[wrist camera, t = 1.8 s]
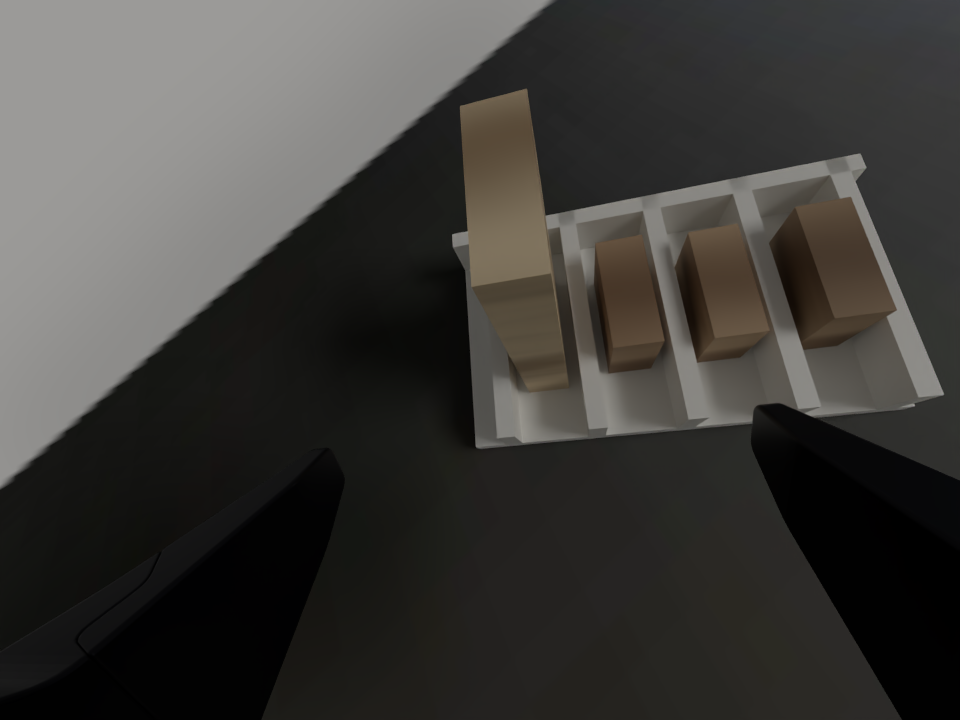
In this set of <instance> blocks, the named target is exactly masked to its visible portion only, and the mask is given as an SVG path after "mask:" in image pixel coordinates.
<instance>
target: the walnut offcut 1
mask: <svg viewBox="0 0 960 720" xmlns="http://www.w3.org/2000/svg"><path fill="white" fill-rule="evenodd" d="M594 288H595V294H596V300H597V306H598V312H599V318H600V324H601V330H602V336H603V342H604V349H605V355H606V361H607V367H608V373H617V372H626V371H634V370H642V369H650V368H651V367H652V365H653V363H654V361H655V359H656V357H657V355H658V353H659V351H660V349H661V348H662V346H663V344H664V342H665V340H664V335H663V330H662V326H661V321H660V316H659V312H658V307H657V302H656V297H655V293H654V288H653V283H652V279H651V274H650V269H649V265H648V260H647V255H646V251H645V246H644V241H643V237H642V235H637V236H631V237H626V238H620V239H615V240H609V241H604V242H598V243H595V265H594Z"/></svg>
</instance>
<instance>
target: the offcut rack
mask: <svg viewBox="0 0 960 720" xmlns="http://www.w3.org/2000/svg"><path fill="white" fill-rule="evenodd" d="M865 169H866V166H865V163H864V161H863V159H862V156H861V154H855V155H850V156H845V157H840V158H835V159H830V160H825V161H820V162H815V163H810V164H805V165H800V166H795V167H790V168H785V169H780V170H775V171H770V172H765V173H760V174H755V175H749V176H744V177H739V178H734V179H729V180H724V181H719V182H714V183H709V184H704V185H699V186H694V187H689V188H684V189H679V190H674V191H669V192H664V193H659V194H654V195H649V196H644V197H639V198H634V199H628V200H623V201H618V202H613V203H608V204H603V205H598V206H593V207H588V208H583V209H578V210H573V211H568V212H563V213H558V214H553V215H548V216H546V223H547V230H548V237H549V244H550V250H551V257H552V264H553V271H554V278H555V285H556V292H557V300H558V307H559V315H560V322H561V330H562V337H563V345H564V352H565V360H566V367H567V375H568V382H569V388H566V389H557V390H549V391H540V392H531V393H530V392H529V390H528V389H527V387H526V385H525V383H524V381H523V380H522V378H521V376H520V374H519V372H518V370H517V369H516V367H515V365H514V363H513V361H512V360H511V358H510V356H509V354H508V352H507V350H506V349H505V347H504V345H503V343H502V341H501V340H500V338H499V336H498V334H497V332H496V331H495V329H494V327H493V325H492V323H491V321H490V320H489V318H488V316H487V314H486V312H485V311H484V309H483V307H482V305H481V303H480V301H479V300H478V298H477V296H476V294H475V292H474V291H473V289H472V287H471V272H470V256H469V241H468V231H467V232H462V233H457V234H452V239H453V248H454V250H455V252H456V254H457V256H458V258H459V260H460V261H461V263H462V265H463V267H464V269H465V273H466V290H467V307H468V323H469V340H470V357H471V373H472V390H473V407H474V424H475V440H476V448H479V449H484V448H495V447H506V446H516V445H527V444H538V443H549V442H560V441H570V440H581V439H592V438H603V437H613V436H624V435H635V434H646V433H656V432H667V431H678V430H689V429H700V428H710V427H721V426H732V425H743V424H752V419H753V411H754V408H755V407H756V406H757V405H761V404H770V403H781V404H784V405H786V406H789V407H791V408H793V409H796V410H798V411H800V412H802V413H805V414H807V415H809V416H812V417H814V418H818V417H829V416H840V415H850V414H861V413H872V412H883V411H893V410H903V409H906V408H910V407H914V406H915V405H914V403H917V402H920V401H924V400H928V399H931V398H935V397H938V396H942V395H944V393H943V391H942V388H941V386H940V384H939V381H938V379H937V376H936V374H935V372H934V369H933V367H932V364H931V362H930V360H929V357H928V355H927V352H926V350H925V348H924V345H923V343H922V340H921V338H920V336H919V333H918V331H917V328H916V326H915V324H914V321H913V319H912V316H911V314H910V312H909V309H908V307H907V304H906V302H905V300H904V297H903V295H902V292H901V290H900V288H899V285H898V283H897V280H896V278H895V276H894V273H893V271H892V268H891V266H890V264H889V261H888V259H887V256H886V254H885V252H884V249H883V247H882V244H881V242H880V240H879V237H878V235H877V232H876V230H875V228H874V225H873V223H872V220H871V218H870V216H869V213H868V211H867V208H866V206H865V204H864V201H863V199H862V196H861V194H860V192H859V189H858V187H857V184H856V182H855V181H856V180H857V178H858V177H859V176H860V175H861V174H862V173H863V171H864V170H865ZM846 197H851V198H852V201H853V203H854V205H855V208H856V210H857V213H858V215H859V218H860V220H861V223H862V225H863V228H864V230H865V233H866V235H867V237H868V240H869V242H870V245H871V247H872V250H873V252H874V255H875V257H876V260H877V262H878V264H879V267H880V269H881V272H882V274H883V277H884V279H885V282H886V284H887V287H888V289H889V291H890V294H891V296H892V299H893V301H894V304H895V306H896V309H897V311H895V312H893V313H892V314H890V315H888V316H887V317H885V318H883V319H881V320H880V321H878V322H876V323H875V324H873V325H871V326H870V327H868V328H866V329H865V330H863V331H861V332H860V333H858V334H856V335H855V336H853V337H851V338H850V339H848V340H846V341H845V342H843V343H841V344H840V345H838V346H831V347H823V348H815V349H807V350H803V348H802V345H801V342H800V339H799V335H798V332H797V329H796V326H795V323H794V320H793V317H792V314H791V311H790V307H789V304H788V301H787V298H786V295H785V292H784V289H783V286H782V282H781V279H780V276H779V273H778V270H777V267H776V264H775V261H774V258H773V254H772V251H771V248H770V245H769V242H770V241H771V239H772V238H773V237H774V235H775V234H776V233H777V231H778V230H779V228H780V227H781V226H782V224H783V223H784V222H785V220H786V219H787V217H788V216H789V215H790V213H791V212H792V210H793V209H794V208H795V207H797V206H802V205H808V204H813V203H819V202H824V201H830V200H835V199H841V198H846ZM732 224H738V226H739V229H740V232H741V236H742V239H743V242H744V246H745V249H746V253H747V256H748V259H749V263H750V266H751V269H752V273H753V276H754V279H755V283H756V286H757V289H758V293H759V296H760V299H761V303H762V306H763V309H764V313H765V316H766V319H767V323H768V326H769V329H770V331H769V332H768V333H767V334H766V335H765V336H764V337H763V338H762V339H760V340H759V341H758V342H757V343H756V344H755V345H754V346H753V347H751V348H750V349H749V350H748V351H747V352H746V353H745V354H744V355H743V356H741V357H740V358H732V359H724V360H716V361H708V362H699V363H697V361H696V357H695V352H694V348H693V344H692V340H691V335H690V331H689V327H688V323H687V318H686V314H685V310H684V306H683V301H682V297H681V293H680V289H679V284H678V280H677V276H676V272H675V265H676V262H677V260H678V257H679V255H680V252H681V250H682V247H683V244H684V242H685V239H686V237H687V234H688V232H693V231H698V230H704V229H710V228H715V227H721V226H726V225H732ZM637 235H642V237H643V241H644V246H645V251H646V255H647V260H648V265H649V269H650V274H651V279H652V283H653V288H654V293H655V297H656V302H657V307H658V312H659V316H660V321H661V326H662V330H663V335H664V340H665V342H664V344H663V346H662V348H661V349H660V351H659V353H658V355H657V357H656V359H655V361H654V363H653V365H652V367H651V368H650V369H642V370H634V371H626V372H617V373H608V367H607V361H606V355H605V349H604V342H603V336H602V330H601V324H600V318H599V312H598V306H597V300H596V294H595V288H594V265H595V243H598V242H604V241H609V240H615V239H620V238H626V237H631V236H637Z"/></svg>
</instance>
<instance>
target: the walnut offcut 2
mask: <svg viewBox="0 0 960 720" xmlns="http://www.w3.org/2000/svg"><path fill="white" fill-rule="evenodd" d="M675 272H676V276H677V280H678V284H679V289H680V293H681V297H682V301H683V306H684V310H685V314H686V318H687V323H688V327H689V331H690V335H691V340H692V344H693V348H694V352H695V357H696V361H697V363H699V362H708V361H716V360H724V359H732V358H740V357H741V356H743V355H744V354H745V353H746V352H747V351H748V350H749V349H750V348H751V347H753V346H754V345H755V344H756V343H757V342H758V341H759V340H760V339H762V338H763V337H764V336H765V335H766V334H767V333H768V332H769V331H770V329H769V326H768V323H767V319H766V316H765V313H764V309H763V306H762V303H761V299H760V296H759V293H758V289H757V286H756V283H755V279H754V276H753V273H752V269H751V266H750V263H749V259H748V256H747V253H746V249H745V246H744V242H743V239H742V236H741V232H740V229H739V226H738V224H732V225H726V226H721V227H715V228H710V229H704V230H698V231H693V232H688V234H687V237H686V239H685V242H684V244H683V247H682V250H681V252H680V255H679V257H678V260H677V262H676V265H675Z"/></svg>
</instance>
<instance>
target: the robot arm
mask: <svg viewBox="0 0 960 720" xmlns="http://www.w3.org/2000/svg"><path fill="white" fill-rule="evenodd" d="M751 446H752V449H753V452H754V455H755V457H756V459H757V461H758V464H759V466H760V468H761V470H762V472H763V475H764V477H765V479H766V481H767V484H768V486H769V488H770V490H771V493H772V495H773V497H774V499H775V502H776V504H777V506H778V508H779V511H780V513H781V515H782V517H783V519H784V521H785V523H786V525H787V526H788V528H789V530H790V532H791V534H792V535H793V537H794V539H795V540H796V542H797V544H798V545H799V547H800V549H801V550H802V552H803V554H804V556H805V557H806V559H807V561H808V562H809V564H810V566H811V567H812V569H813V571H814V572H815V574H816V576H817V577H818V579H819V581H820V582H821V584H822V586H823V588H824V589H825V591H826V593H827V594H828V596H829V598H830V599H831V601H832V603H833V604H834V606H835V608H836V609H837V611H838V613H839V614H840V616H841V618H842V619H843V621H844V623H845V625H846V626H847V628H848V630H849V631H850V633H851V635H852V636H853V638H854V640H855V641H856V643H857V645H858V646H859V648H860V650H861V651H862V653H863V655H864V657H865V658H866V660H867V662H868V663H869V665H870V667H871V668H872V670H873V672H874V673H875V675H876V677H877V678H878V680H879V682H880V683H881V685H882V687H883V688H884V690H885V692H886V694H887V695H888V697H889V699H890V700H891V702H892V704H893V705H894V707H895V709H896V710H897V712H898V714H899V715H900V717H901V719H902V720H960V480H957V479H955V478H953V477H951V476H948V475H946V474H944V473H941V472H939V471H937V470H934V469H932V468H930V467H927V466H925V465H923V464H920V463H918V462H916V461H914V460H911V459H909V458H907V457H904V456H902V455H900V454H897V453H895V452H893V451H890V450H888V449H886V448H883V447H881V446H879V445H876V444H874V443H872V442H870V441H867V440H865V439H863V438H860V437H858V436H856V435H853V434H851V433H849V432H846V431H844V430H842V429H839V428H837V427H835V426H833V425H830V424H828V423H826V422H823V421H821V420H819V419H816V418H814V417H812V416H809V415H807V414H805V413H802V412H800V411H798V410H796V409H793V408H791V407H789V406H786V405H784V404H781V403H770V404H761V405H757V406H756V407H755V408H754V411H753V419H752V431H751ZM344 483H345V478H344V474H343V471H342V469H341V467H340V465H339V462H338V460H337V458H336V456H335V454H334V452H333V451H332V450H331V449H329V448H322V449H314V450H312V451H310V452H308V453H307V454H305V455H304V456H302V457H301V458H299V459H298V460H296V461H295V462H293V463H292V464H290V465H289V466H287V467H286V468H284V469H283V470H281V471H280V472H278V473H277V474H275V475H274V476H272V477H271V478H269V479H268V480H266V481H265V482H263V483H262V484H260V485H259V486H257V487H256V488H254V489H253V490H251V491H250V492H248V493H247V494H245V495H244V496H242V497H241V498H239V499H238V500H236V501H235V502H233V503H232V504H230V505H229V506H227V507H226V508H224V509H223V510H221V511H220V512H218V513H217V514H215V515H214V516H212V517H211V518H209V519H208V520H206V521H205V522H203V523H202V524H200V525H199V526H197V527H196V528H194V529H193V530H191V531H190V532H188V533H187V534H185V535H184V536H182V537H181V538H179V539H178V540H176V541H175V542H173V543H172V544H170V545H169V546H167V547H166V548H164V549H163V550H162V552H158V553H157V554H155V555H154V556H152V557H151V558H149V559H148V560H146V561H145V562H143V563H142V564H140V565H139V566H137V567H136V568H134V569H133V570H131V571H129V572H128V573H126V574H125V575H123V576H122V577H120V578H119V579H117V580H116V581H114V582H113V583H111V584H109V585H108V586H106V587H105V588H103V589H101V590H100V591H98V592H97V593H95V594H93V595H92V596H90V597H89V598H87V599H85V600H84V601H82V602H81V603H79V604H77V605H76V606H74V607H72V608H71V609H69V610H67V611H66V612H64V613H63V614H61V615H59V616H58V617H56V618H54V619H53V620H51V621H49V622H48V623H46V624H45V625H43V626H41V627H40V628H38V629H36V630H35V631H33V632H31V633H30V634H28V635H26V636H25V637H23V638H22V639H20V640H18V641H17V642H15V643H13V644H12V645H10V646H8V647H7V648H5V649H4V650H2V651H0V720H261V719H262V716H263V713H264V711H265V708H266V706H267V703H268V700H269V698H270V695H271V693H272V690H273V687H274V685H275V682H276V679H277V677H278V674H279V672H280V669H281V666H282V664H283V661H284V659H285V656H286V653H287V651H288V648H289V645H290V643H291V640H292V638H293V635H294V632H295V630H296V627H297V625H298V622H299V619H300V617H301V614H302V611H303V609H304V606H305V604H306V601H307V598H308V596H309V593H310V591H311V588H312V585H313V583H314V580H315V577H316V575H317V572H318V570H319V567H320V564H321V562H322V559H323V557H324V554H325V551H326V548H327V545H328V542H329V539H330V536H331V532H332V528H333V525H334V521H335V517H336V514H337V510H338V506H339V503H340V499H341V495H342V492H343V488H344Z"/></svg>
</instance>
